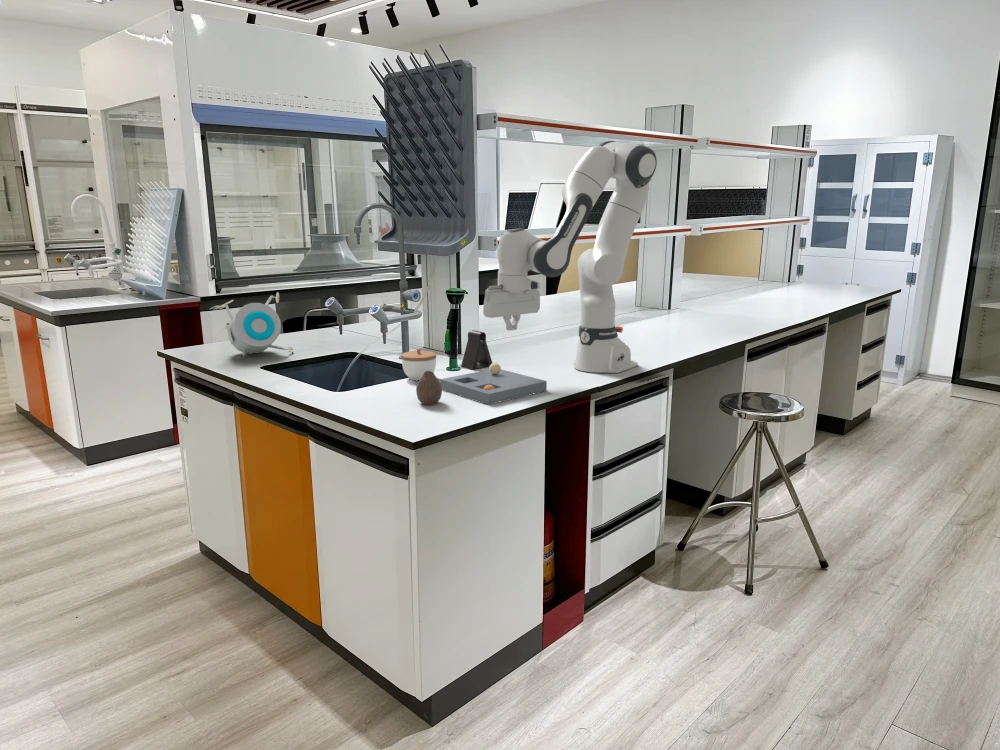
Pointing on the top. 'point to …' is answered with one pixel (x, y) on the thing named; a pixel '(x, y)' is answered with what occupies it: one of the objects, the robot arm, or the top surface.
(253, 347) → the satellite
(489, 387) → the terracotta ball
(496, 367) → the sand ball
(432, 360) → the lidded jar
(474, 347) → the door stopper
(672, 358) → the top surface
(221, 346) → the top surface
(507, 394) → the hole plate
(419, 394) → the vase
